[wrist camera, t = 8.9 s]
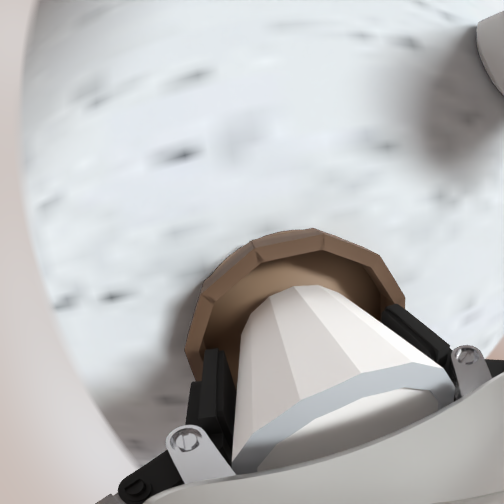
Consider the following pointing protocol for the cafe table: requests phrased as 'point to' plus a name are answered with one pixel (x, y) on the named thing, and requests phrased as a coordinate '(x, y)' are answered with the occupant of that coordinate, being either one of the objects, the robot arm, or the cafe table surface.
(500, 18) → the can
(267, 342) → the white tapered cylinder
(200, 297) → the round bowl
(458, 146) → the cafe table surface
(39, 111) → the cafe table surface
